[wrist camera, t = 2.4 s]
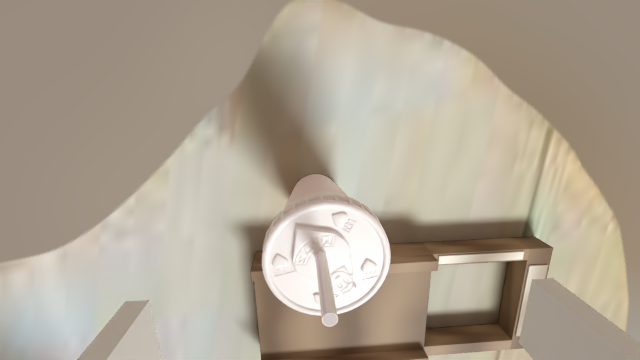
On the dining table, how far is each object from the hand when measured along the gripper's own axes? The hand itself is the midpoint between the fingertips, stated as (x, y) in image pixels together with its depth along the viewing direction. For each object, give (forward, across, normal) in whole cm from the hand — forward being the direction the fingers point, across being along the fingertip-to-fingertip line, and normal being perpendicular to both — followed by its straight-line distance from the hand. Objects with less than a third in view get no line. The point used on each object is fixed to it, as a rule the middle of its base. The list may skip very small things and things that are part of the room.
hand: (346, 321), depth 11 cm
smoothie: (+14, 0, 0) cm, 14 cm away
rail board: (+14, +7, -10) cm, 18 cm away
